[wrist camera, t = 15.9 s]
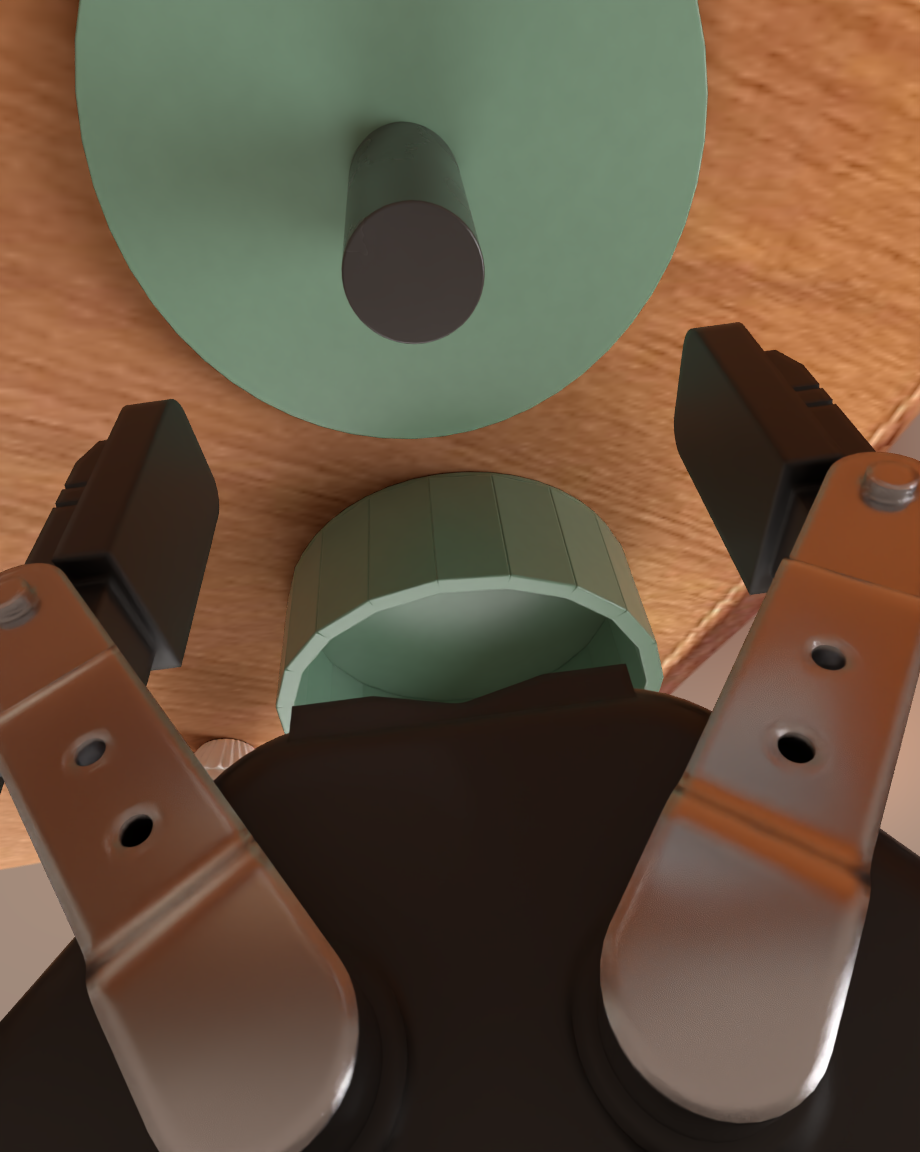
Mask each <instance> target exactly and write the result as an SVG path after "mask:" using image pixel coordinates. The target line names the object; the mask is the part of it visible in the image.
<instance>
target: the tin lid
mask: <svg viewBox="0 0 920 1152" xmlns="http://www.w3.org/2000/svg"><path fill="white" fill-rule="evenodd" d="M75 93H76V101H77V108H78V116H79V123H80V131H81V138H82V143H83V147H84V151H85V155H86V159H87V163H88V167H89V171H90V175H91V179H92V183H93V187H94V189H95V192H96V195H97V197H98V200H99V203H100V205H101V208H102V211H103V213H104V216H105V218H106V221H107V224H108V226H109V229H110V231H111V233H112V235H113V237H114V239H115V241H116V243H117V245H118V247H119V249H120V251H121V253H122V255H123V257H124V259H125V261H126V263H127V264H128V266H129V268H130V270H131V272H132V273H133V275H134V276H135V278H136V279H137V281H138V282H139V284H140V285H141V287H142V288H143V290H144V291H145V293H146V294H147V296H148V297H149V299H150V301H151V302H152V303H153V305H154V306H155V307H156V308H157V310H158V311H159V312H160V313H161V314H162V316H163V317H164V318H165V319H166V321H167V322H168V323H169V324H170V325H171V327H172V328H173V329H174V330H175V332H176V333H177V334H178V335H179V336H180V337H181V338H182V339H183V340H184V341H185V342H186V343H187V344H188V345H189V346H190V347H191V348H192V349H193V350H194V351H195V352H196V353H197V354H198V355H199V356H200V357H201V358H202V359H203V360H205V361H206V362H207V363H208V364H210V365H211V366H212V367H213V368H215V369H216V370H217V371H218V372H220V373H221V374H222V375H224V376H225V377H226V378H227V379H229V380H230V381H231V382H232V383H234V384H236V385H237V386H239V387H240V388H242V389H243V390H245V391H247V392H248V393H250V394H251V395H253V396H254V397H256V398H258V399H259V400H261V401H263V402H265V403H267V404H269V405H271V406H273V407H275V408H277V409H279V410H281V411H283V412H285V413H287V414H289V415H291V416H294V417H297V418H299V419H302V420H305V421H308V422H310V423H313V424H316V425H318V426H321V427H325V428H329V429H333V430H337V431H341V432H345V433H350V434H355V435H362V436H370V437H377V438H396V439H418V438H429V437H440V436H447V435H452V434H457V433H462V432H467V431H472V430H475V429H479V428H482V427H485V426H488V425H491V424H494V423H497V422H501V421H503V420H505V419H508V418H510V417H512V416H514V415H517V414H519V413H521V412H523V411H526V410H528V409H530V408H532V407H534V406H535V405H537V404H539V403H541V402H542V401H544V400H546V399H547V398H549V397H551V396H552V395H554V394H556V393H558V392H559V391H560V390H562V389H563V388H564V387H566V386H567V385H568V384H570V383H571V382H572V381H574V380H575V379H577V378H578V377H579V376H581V375H582V374H583V373H584V372H586V371H587V370H588V369H589V368H590V367H591V366H592V365H593V364H594V363H595V362H596V361H597V360H598V359H600V358H601V357H602V356H603V355H604V354H605V353H606V352H607V351H608V350H609V349H610V348H611V347H612V346H613V344H614V343H615V342H616V341H617V340H618V339H619V338H620V336H621V335H622V334H623V333H624V332H625V331H626V330H627V328H628V327H629V326H630V325H631V324H632V322H633V321H634V319H635V318H636V316H637V315H638V314H639V312H640V311H641V309H642V308H643V306H644V305H645V304H646V302H647V301H648V299H649V298H650V296H651V295H652V293H653V291H654V290H655V288H656V286H657V284H658V282H659V280H660V279H661V277H662V275H663V273H664V271H665V269H666V268H667V266H668V264H669V262H670V260H671V258H672V255H673V253H674V250H675V248H676V246H677V243H678V241H679V238H680V236H681V234H682V231H683V229H684V226H685V224H686V220H687V217H688V214H689V210H690V207H691V203H692V200H693V196H694V193H695V190H696V186H697V182H698V176H699V171H700V165H701V159H702V154H703V148H704V142H705V130H706V114H707V98H708V89H707V70H706V51H705V41H704V35H703V30H702V24H701V18H700V12H699V7H698V1H697V0H79V8H78V17H77V25H76V34H75Z"/></svg>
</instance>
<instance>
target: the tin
mask: <svg viewBox="0 0 920 1152" xmlns="http://www.w3.org/2000/svg"><path fill="white" fill-rule="evenodd" d="M625 663H626V665H627V669H628V672H629V675H630V679H631V682H632V685H633V688H635V689H645V690H651V691H655V692H659V690H660V687H661V683H662V680H663V672H662V667H661V662H660V658H659V653H658V648H657V643H656V640H655V638H654V635H653V632H652V629H651V626H650V624H649V621H648V618H647V615H646V613H645V610H644V607H643V604H642V602H641V599H640V596H639V593H638V590H637V588H636V585H635V582H634V579H633V577H632V574H631V571H630V568H629V566H628V563H627V560H626V557H625V554H624V552H623V549H622V546H621V544H620V543H619V542H618V541H617V539H616V538H615V536H614V535H613V533H612V532H611V530H610V529H609V527H608V526H607V525H606V523H605V522H604V521H603V520H602V519H601V518H600V517H599V516H598V515H597V514H596V513H595V512H594V511H593V510H591V509H590V508H589V507H587V506H586V505H585V504H583V503H582V502H581V501H579V500H578V499H576V498H574V497H572V496H571V495H569V494H567V493H565V492H563V491H561V490H560V489H557V488H554V487H552V486H549V485H547V484H544V483H541V482H539V481H535V480H531V479H527V478H523V477H519V476H514V475H506V474H499V473H491V472H458V473H447V474H437V475H432V476H427V477H422V478H417V479H412V480H409V481H406V482H403V483H399V484H396V485H393V486H390V487H387V488H385V489H383V490H380V491H378V492H376V493H374V494H371V495H369V496H367V497H365V498H363V499H361V500H360V501H358V502H356V503H355V504H353V505H351V506H350V507H348V508H346V509H345V510H344V511H342V512H341V513H340V514H338V515H337V516H336V517H335V518H333V519H332V520H331V521H329V522H328V523H327V524H326V525H325V526H324V527H323V528H322V529H321V530H320V531H319V532H318V534H317V535H316V536H315V537H314V538H313V539H312V541H311V542H310V544H309V545H308V546H307V548H306V549H305V551H304V552H303V554H302V556H301V558H300V560H299V562H298V564H297V565H296V567H295V570H294V575H293V579H292V583H291V589H290V594H289V598H288V603H287V611H286V620H285V629H284V637H283V646H282V655H281V663H280V672H279V680H278V689H277V698H276V709H277V712H278V715H279V718H280V721H281V724H282V727H283V730H284V733H285V734H287V733H289V730H290V720H291V711H292V706H298V705H306V704H314V703H322V702H329V701H337V700H345V699H353V698H361V697H368V696H380V697H391V698H401V699H412V700H422V701H433V702H443V703H463V702H467V701H470V700H473V699H475V698H478V697H481V696H484V695H487V694H489V693H492V692H495V691H498V690H500V689H503V688H506V687H509V686H511V685H514V684H517V683H520V682H523V681H525V680H528V679H531V678H534V677H536V676H539V675H542V674H547V673H555V672H563V671H571V670H578V669H586V668H594V667H602V666H609V665H617V664H625Z"/></svg>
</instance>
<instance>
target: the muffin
mask: <svg viewBox="0 0 920 1152" xmlns="http://www.w3.org/2000/svg"><path fill="white" fill-rule="evenodd" d="M254 749H255V748H253V746H251V745H249V744H248V743H244V742H243V741H239V740H234V739H218V740H212V741H208V742H207V743H204V744H203V745H202V746H200V747H199V749H198V750H197V751H196V752H195V753H194V754H195V756H196V757H197V758H198V760H199V761H200V763H201V764H202V765H203V767H204V768H205V770H206V771H207V772H208V774H209V775H210V777H211V778H212V779H213V780H215V779H216V778H217V777H218V776H219V775H220V774H221V773H222V772H223V771H224V770H225V769H227V768H228V767H229V766H231V765H232V764H233V763H235V762H236V761H237V760H239V759H240V758H241V757H243V756H244V755H246V754H248V753H249V752H251V751H253V750H254Z"/></svg>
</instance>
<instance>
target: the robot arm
mask: <svg viewBox="0 0 920 1152" xmlns="http://www.w3.org/2000/svg"><path fill="white" fill-rule="evenodd" d="M674 433H675V441H676V445H677V449H678V452H679V455H680V457H681V459H682V461H683V463H684V465H685V467H686V469H687V471H688V473H689V475H690V477H691V479H692V481H693V483H694V485H695V487H696V489H697V491H698V493H699V494H700V496H701V498H702V500H703V502H704V504H705V506H706V508H707V510H708V512H709V514H710V516H711V518H712V520H713V522H714V524H715V526H716V528H717V530H718V532H719V534H720V536H721V538H722V540H723V542H724V544H725V546H726V548H727V550H728V552H729V554H730V556H731V558H732V560H733V562H734V564H735V566H736V568H737V570H738V572H739V574H740V576H741V578H742V580H743V582H744V584H745V586H746V588H747V590H748V592H749V594H750V595H752V594H760V593H766V596H765V598H764V600H763V602H762V604H761V606H760V609H759V611H758V613H757V615H756V617H755V620H754V622H753V624H752V626H751V628H750V631H749V633H748V635H747V637H746V639H745V641H744V643H743V646H742V648H741V650H740V652H739V654H738V657H737V659H736V661H735V663H734V665H733V667H732V670H731V672H730V674H729V676H728V678H727V681H726V683H725V685H724V687H723V689H722V692H721V694H720V696H719V698H718V700H717V702H716V704H715V707H714V709H713V711H710V710H708V709H706V708H704V707H702V706H699V705H697V704H695V703H692V702H690V701H687V700H685V699H681V698H678V697H675V696H672V695H669V694H665V693H660V692H655V691H651V690H645V689H635V688H633V685H632V682H631V679H630V675H629V672H628V669H627V665H626V663H625V664H617V665H609V666H602V667H594V668H586V669H578V670H571V671H563V672H555V673H547V674H542V675H539V676H536V677H534V678H531V679H528V680H525V681H523V682H520V683H517V684H514V685H511V686H509V687H506V688H503V689H500V690H498V691H495V692H492V693H489V694H487V695H484V696H481V697H478V698H475V699H473V700H470V701H467V702H463V703H443V702H433V701H422V700H412V699H401V698H391V697H380V696H368V697H361V698H353V699H345V700H337V701H329V702H322V703H314V704H306V705H298V706H292V711H291V720H290V730H289V733H287V734H284V735H282V736H279V737H277V738H275V739H273V740H271V741H269V742H267V743H265V744H263V745H261V746H259V747H257V748H256V749H254V750H253V751H251V752H249V753H248V754H246V755H244V756H243V757H241V758H240V759H239V760H237V761H236V762H235V763H233V764H232V765H231V766H229V767H228V768H227V769H225V770H224V771H223V772H222V773H221V774H220V775H219V776H218V777H217V778H216V779H215V780H213V779H212V778H211V777H210V775H209V774H208V772H207V771H206V770H205V768H204V767H203V765H202V764H201V763H200V761H199V760H198V758H197V757H196V756H195V754H194V753H193V751H192V750H191V749H190V747H189V746H188V744H187V743H186V742H185V740H184V739H183V737H182V736H181V735H180V733H179V732H178V731H177V729H176V728H175V726H174V725H173V724H172V722H171V721H170V719H169V718H168V717H167V715H166V714H165V712H164V711H163V710H162V708H161V707H160V705H159V704H158V703H157V701H156V700H155V698H154V697H153V696H152V694H151V693H150V691H149V690H148V689H147V687H146V685H147V682H148V678H149V675H150V671H152V670H160V669H168V668H175V667H181V665H182V661H183V657H184V653H185V649H186V645H187V641H188V637H189V633H190V629H191V625H192V620H193V616H194V612H195V608H196V604H197V600H198V596H199V592H200V588H201V584H202V580H203V576H204V572H205V568H206V564H207V560H208V556H209V552H210V548H211V544H212V539H213V535H214V531H215V527H216V523H217V519H218V515H219V497H218V491H217V487H216V483H215V480H214V477H213V475H212V473H211V470H210V468H209V466H208V464H207V461H206V459H205V457H204V455H203V452H202V450H201V448H200V446H199V443H198V441H197V439H196V437H195V434H194V432H193V430H192V428H191V425H190V423H189V421H188V419H187V416H186V414H185V412H184V410H183V408H182V407H181V405H180V404H179V403H178V402H177V401H176V400H174V399H169V400H162V401H154V402H147V403H140V404H133V405H126V406H124V407H123V408H122V410H121V412H120V414H119V416H118V418H117V420H116V422H115V425H114V427H113V429H112V431H111V433H110V435H109V437H108V439H107V440H104V441H99V442H97V443H96V444H95V445H94V446H93V447H92V448H91V449H90V450H89V451H88V452H87V453H86V454H85V455H84V456H82V457H81V458H80V459H79V460H78V461H77V462H76V463H75V465H74V467H73V469H72V471H71V473H70V475H69V477H68V479H67V481H66V483H65V489H63V490H62V491H61V493H60V495H59V497H58V499H57V501H56V503H55V504H56V508H53V509H52V511H51V513H50V515H49V517H48V519H47V521H46V523H45V525H44V527H43V529H42V531H41V533H40V535H39V537H38V539H37V541H36V543H35V545H34V547H33V549H32V551H31V553H30V554H29V556H28V558H27V560H26V562H25V564H24V565H21V566H17V567H13V568H11V569H8V570H5V571H3V572H1V573H0V793H1V790H2V787H3V784H4V782H5V784H6V786H7V788H8V790H9V793H10V795H11V797H12V799H13V801H14V804H15V806H16V808H17V810H18V812H19V815H20V817H21V819H22V821H23V823H24V826H25V828H26V830H27V832H28V834H29V836H30V839H31V841H32V843H33V845H34V847H35V850H36V852H37V854H38V856H39V858H40V861H41V863H42V865H43V867H44V869H45V871H46V874H47V876H48V878H49V880H50V882H51V884H52V887H53V889H54V891H55V893H56V896H57V898H58V900H59V902H60V904H61V907H62V909H63V911H64V913H65V915H66V917H67V920H68V922H69V924H70V926H71V928H72V930H73V933H74V935H75V937H74V938H73V940H72V941H71V942H70V943H69V944H68V945H67V946H66V948H65V949H64V950H63V951H62V952H61V953H60V954H59V956H58V957H57V958H56V959H55V960H54V961H53V962H52V963H51V965H50V966H49V967H48V968H47V969H46V970H45V971H44V973H43V974H42V975H41V976H40V977H39V979H37V981H36V982H35V983H34V984H33V985H32V986H31V987H30V989H29V990H28V991H27V992H26V993H25V994H24V995H23V997H22V998H21V999H20V1000H19V1001H18V1002H17V1003H16V1005H15V1006H14V1007H13V1008H12V1009H11V1010H10V1011H9V1012H8V1014H7V1015H6V1016H5V1017H4V1018H3V1019H2V1020H1V1022H0V1152H920V857H919V856H918V855H917V854H915V853H914V852H912V851H911V850H910V849H908V848H907V847H905V846H904V845H903V844H901V843H900V842H898V841H897V840H896V839H894V838H893V837H891V836H890V835H888V834H887V833H886V832H884V831H883V830H882V829H880V825H881V821H882V817H883V813H884V809H885V805H886V802H887V798H888V794H889V790H890V786H891V782H892V778H893V774H894V770H895V766H896V763H897V759H898V755H899V751H900V747H901V743H902V739H903V735H904V731H905V727H906V724H907V720H908V715H909V712H910V708H911V704H912V700H913V696H914V692H915V688H916V684H917V681H918V677H919V673H920V461H918V460H916V459H913V458H910V457H907V456H903V455H899V454H893V453H886V452H876V451H875V450H874V449H873V448H872V446H871V445H870V444H869V443H868V442H867V440H866V439H865V438H864V437H863V436H862V434H861V433H860V432H859V431H858V430H857V428H856V427H855V426H854V425H853V424H852V422H851V421H850V420H849V419H848V418H847V417H846V415H845V414H844V413H843V412H842V411H841V409H840V408H839V407H838V406H837V405H836V404H833V403H832V399H831V397H830V396H829V395H828V394H827V393H826V391H825V390H824V389H823V388H819V383H818V382H817V381H816V380H815V378H814V377H813V376H812V375H811V374H810V372H809V371H808V370H807V369H806V368H805V366H804V365H803V364H801V363H799V362H797V361H795V360H793V359H791V358H790V357H788V356H786V355H784V354H782V353H780V352H779V351H777V350H771V351H763V349H762V348H761V347H760V345H759V344H758V343H757V342H756V340H755V339H754V338H753V337H752V335H751V334H750V333H749V331H748V330H747V329H746V328H745V326H744V325H743V324H742V323H740V322H736V323H729V324H722V325H714V326H707V327H700V328H693V329H690V330H689V331H688V332H687V334H686V337H685V340H684V344H683V351H682V359H681V367H680V375H679V383H678V391H677V399H676V407H675V415H674Z"/></svg>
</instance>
